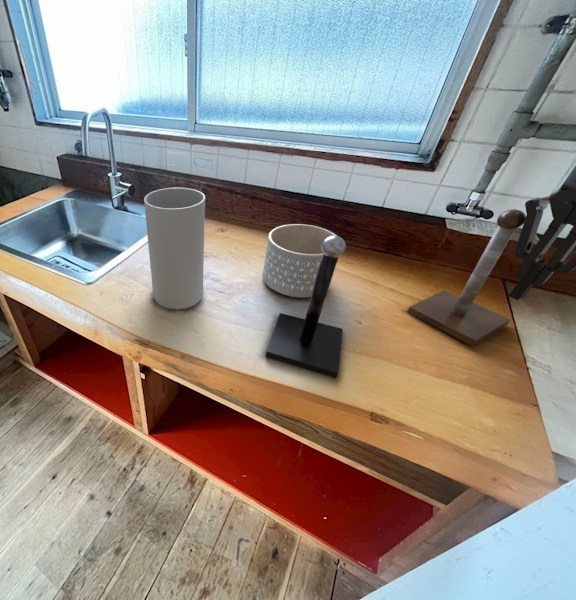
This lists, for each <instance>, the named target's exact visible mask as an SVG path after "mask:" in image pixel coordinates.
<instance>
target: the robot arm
mask: <svg viewBox="0 0 576 600" xmlns="http://www.w3.org/2000/svg"><path fill="white" fill-rule="evenodd" d="M548 206H549V207H550V210H551V215H552V220H551V222H550V223H549V224H548V227H547V228H546V230H545V231H544V232H543V234H542V235H541V236H540V238H539V239H538V241H537V242H536V244H535V245H534V241H535V238H536V236H537V234H538V233H537V232H538V229H539V227H540V223H541V221H542V218H543V215H544V211H545V210H546V209H548V208H549V207H548ZM524 207H525V212H526V213H525V215H526V218H525V221H524V224H523V225H522V228H521V230H520V234H519V238H518V241H517V242H516V243H517V244H516V246H515V250H514V253H513V254H514V256H515V257H518V258H520V259H521V260H522V261H523V262H522V264H521V265H520V267H519V269H518V270H517V271H516V272H515V274H514V279H517V280H519V281H518V282H517V283H516V284H515V286H514V287H513V289H512V290H511V291H510V293H509V294H508V297H509V298H512V299H514V300H516V301H519V300H521V299H523V298H524V297H526V296H527V294H528V293H529V292H530V291H531V289H532V288H533V287H534V286H536V287H540V286H542V285H544V284H546V283H547V281H548V280H549V279H550V278H551V276H553V274H554V273H555V272H560V273H563V274H567V273H569V272H571V271H573V270H575V269H576V255H575V256H574V257H573V258H571V259H569V261H566V262H565V260H566V258H568V256H569V255H570V254H571V252H573V250H574V249H575V248H576V165H574V167H573V169H572V170H571V171H570V173H569V174H568V176H567V177H566V179H564V181H563V183H562V185H561V186H560V187H559V188H558V189H556V190H554V191H553V192H552V193H550V195H548V196H543V197H539V196H538V197H534V198H532V199H531V198H530V199H529V200H527V201H525V203H524ZM567 225H570V226H572V227H571V229H570V230H569V232H568V234H567V235H566V237H565V238H564V239H563V241H561V243H560V244H559V246H558V247H557V248H556V249H555V251H554V252H553V253H552V255H551V256H550V258H549V259H548V260H547V261H546V263H545V264H544V263H541V262H539V261H541V260H543V257H544V255H545V254H546V253H547V251H548V250H549V249H550V247H551V246H552V245H553V243H554V242H555V241H556V239H557V238H558V236H559V235H560V234H561V233H562V231H563V230H565V227H567ZM533 245H534V247H533Z"/></svg>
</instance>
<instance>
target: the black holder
mask: <svg viewBox="0 0 576 600" xmlns="http://www.w3.org/2000/svg"><path fill="white" fill-rule="evenodd" d="M346 247H347V245H346V241H345V240H344V239H343V238H342V237H340V236H339V235H337V236H330V237H328V238H326V239H325V240H324V241H323V243H322V245H321V250H322V253H323V256H322V260H321V263H320V267H319V270H318V274H317V278H316V281H315V285H314V288H313V292H312V295H311V297H310V299H309V302H308V307H307V310H306V314H305V317H304V318H301V317H297V316H293V315H290V314H286V313H282V312H279V314H278V317H277V319H276V322H275V326H274V329H273V331H272V334H271V337H270V340H269V342H268V346H267V348H266V350H265V355H264V356H265V358H268V359H271V360H275V361H278V362H282V363H284V364H288V365H292V366H295V367H297V368H302V369H305V370H308V371H311V372H314V373H317V374H321V375H324V376H327V377H331V378H334V379H336V378H337V376H338V374H339V367H340V357H341V349H342V338H343V330H344V329H343V328H341V327H338V326H335V325H331V324H325V323H322V322H320V317H321V314H322V311H323V308H324V304H325V301H326V298H327V295H328V292H329V289H330V286H331V282H332V279H333V276H334V274H335V273H334V272H335V270H336V266H337V263H338V260H339V258H340V257H341V256H342V255H343V254H344V253H345V251H346Z"/></svg>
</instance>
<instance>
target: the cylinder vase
mask: <svg viewBox="0 0 576 600" xmlns="http://www.w3.org/2000/svg"><path fill="white" fill-rule="evenodd" d="M143 202H144V212H145V222H146V233H147V245H148V256H149V265H150V267H149V268H150V276H151V287H152V296H153V300H154V301H155V302H156V304H158V305H159V306H161V307H163V308H166V309H169V310H185V309H189V308H192V307H195V305H197V304H198V303H199V302H200V301H201V300H202V299H203V295H204V268H205V267H204V265H205V261H204V260H205V226H206V225H205V224H206V223H205V219H206V195H205V194H204V193H203V192H202V191H199V190H198V189H194V188H188V187H166V188H161V189H157V190H154V191H151V192H149V193H147V194H146V195H145V196H144V198H143Z"/></svg>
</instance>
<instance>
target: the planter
mask: <svg viewBox="0 0 576 600" xmlns="http://www.w3.org/2000/svg"><path fill="white" fill-rule="evenodd" d="M330 236H338V235H337V234H336V233H334V232H333V231H331V230H328V229H326V228H324V227H320V226H317V225H311V224H303V223H290V224H282V225H280V226H277V227H275V228H273V229H271V230H270V231H269V233H268V237H267V244H266V249H265V256H264V263H263V268H262V269H263V270H262V281H264V283H265V285H267V286H268V287H269V288H270V289H271V290H273V291H275V292H277V293H279V294H281V295H283V296H287V297H291V298H311V295H312V292H313V288H314V285H315V281H316V278H317V274H318V270H319V267H320V263H321V260H322V256H323V253H322V250H321V245H322V243H323V241H324V240H325V239H326V238H328V237H330Z"/></svg>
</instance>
